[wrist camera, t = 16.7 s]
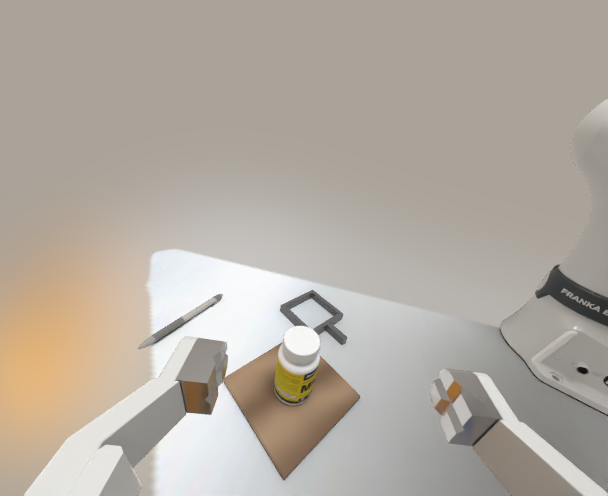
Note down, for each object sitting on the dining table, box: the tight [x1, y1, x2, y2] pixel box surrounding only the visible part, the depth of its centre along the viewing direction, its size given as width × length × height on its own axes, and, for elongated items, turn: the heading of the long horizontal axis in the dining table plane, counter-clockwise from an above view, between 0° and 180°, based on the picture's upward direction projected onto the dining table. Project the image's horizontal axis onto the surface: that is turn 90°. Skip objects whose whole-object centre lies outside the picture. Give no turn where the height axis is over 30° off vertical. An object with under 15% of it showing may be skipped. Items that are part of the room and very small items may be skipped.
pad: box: [224, 342, 360, 480], centre depth 30 cm, size 12×12×1 cm
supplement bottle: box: [274, 326, 320, 406], centre depth 28 cm, size 5×5×8 cm
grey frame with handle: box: [280, 290, 347, 345], centre depth 41 cm, size 11×8×1 cm
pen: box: [138, 294, 223, 349], centre depth 37 cm, size 1×14×1 cm, turn 149°
